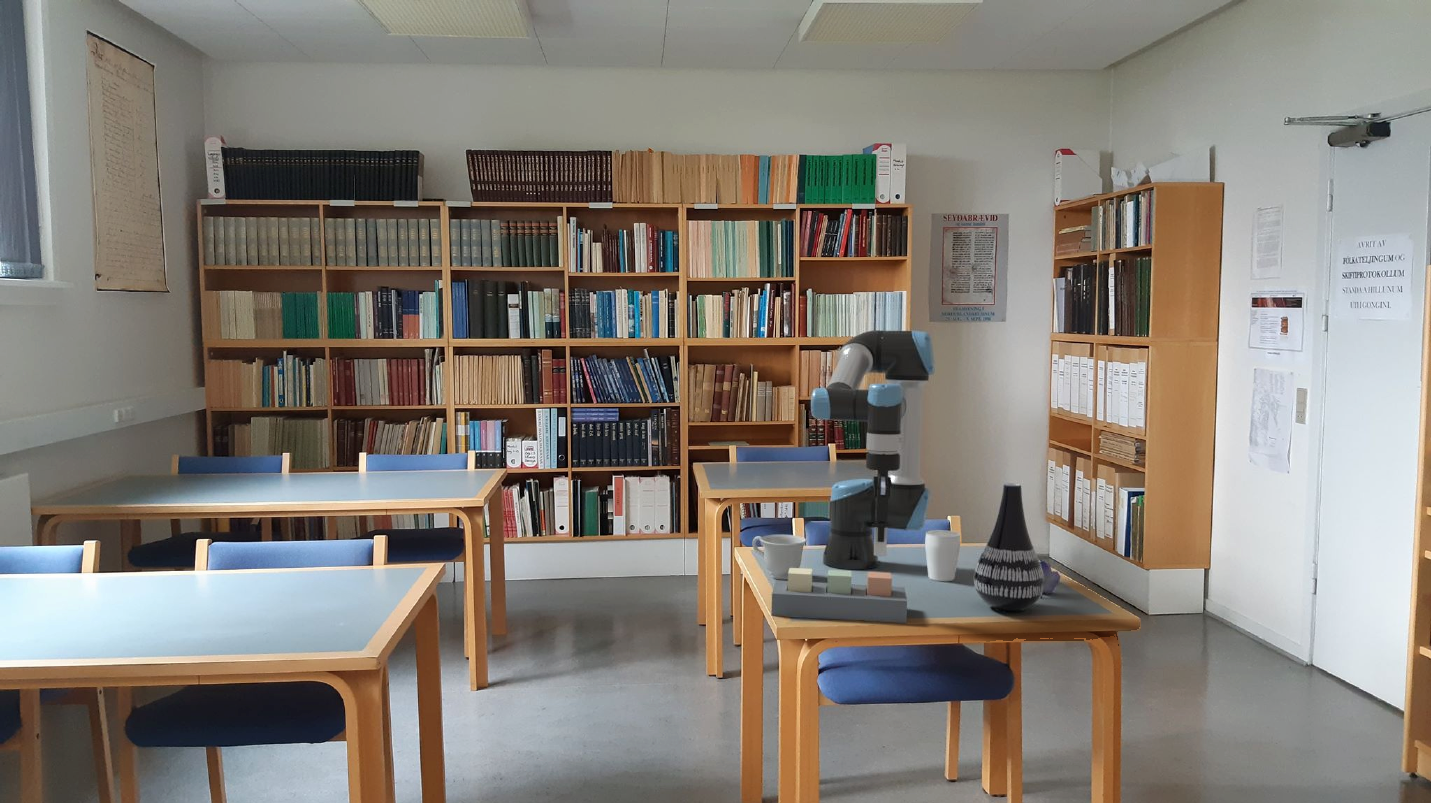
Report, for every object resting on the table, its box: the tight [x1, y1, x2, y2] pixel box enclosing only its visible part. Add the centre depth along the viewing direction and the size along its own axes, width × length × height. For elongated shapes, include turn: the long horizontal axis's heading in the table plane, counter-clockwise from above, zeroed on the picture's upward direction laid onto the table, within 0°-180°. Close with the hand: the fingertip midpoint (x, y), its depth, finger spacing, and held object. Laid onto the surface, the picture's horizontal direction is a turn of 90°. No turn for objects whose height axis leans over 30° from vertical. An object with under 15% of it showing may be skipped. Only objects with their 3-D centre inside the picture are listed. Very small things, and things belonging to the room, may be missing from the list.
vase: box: [973, 482, 1044, 614], centre depth 229 cm, size 16×16×30 cm
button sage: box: [827, 569, 852, 594], centre depth 225 cm, size 5×5×6 cm
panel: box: [770, 579, 908, 624], centre depth 225 cm, size 30×12×5 cm, turn 82°
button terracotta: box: [866, 571, 893, 597], centre depth 224 cm, size 5×5×6 cm
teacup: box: [752, 534, 807, 581], centre depth 257 cm, size 12×15×10 cm
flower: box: [1039, 559, 1061, 599], centre depth 244 cm, size 9×9×10 cm
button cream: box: [787, 567, 813, 592], centre depth 226 cm, size 5×5×6 cm
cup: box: [924, 529, 961, 582], centre depth 258 cm, size 9×9×12 cm
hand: (880, 555), depth 223 cm, fingers closed
